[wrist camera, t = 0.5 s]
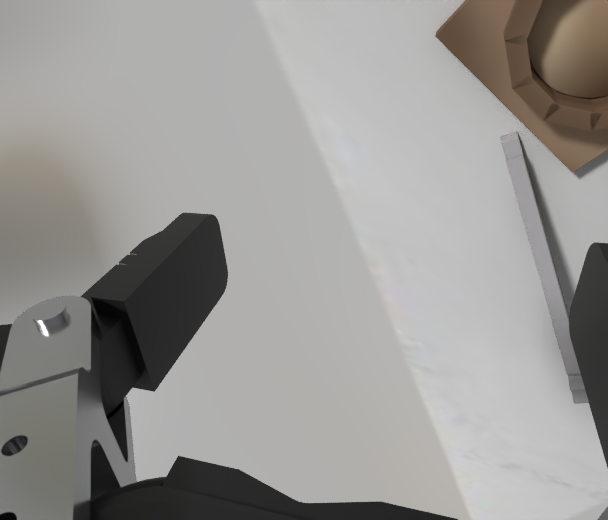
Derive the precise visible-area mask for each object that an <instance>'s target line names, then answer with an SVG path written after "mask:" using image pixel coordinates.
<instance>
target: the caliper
mask: <svg viewBox="0 0 608 520" xmlns="http://www.w3.org/2000/svg"><path fill="white" fill-rule="evenodd" d="M501 142H502V146H503V149H504V153H505V156H506V162H507V166H508V169H509V173H510V176H511V180H512V183H513V187H514V190H515V194H516V197H517V201H518V204H519V207H520V211H521V214H522V218H523V221H524V225H525V228H526V232H527V235H528V238H529V242H530V245H531V249H532V252H533V256H534V259H535V263H536V266H537V270H538V273H539V276H540V280H541V283H542V287H543V290H544V294H545V297H546V301H547V304H548V307H549V311H550V314H551V318H552V322H553V327H554V330H555V334H556V337H557V341H558V344H559V348H560V351H561V355H562V358H563V362H564V365H565V368H566V372H567V375H568V378H569V385H570V390H572V396H573V401H574V403H589V401H588V397H587V394H586V391H585V387H584V384H583V380H582V377H581V373H580V370H579V366H578V363H577V359H576V356H575V352H574V349H573V345H572V342H571V338H570V333H569V314H568V310H567V306H566V304H565V302H564V298H563V294H562V291H561V287H560V283H559V280H558V276H557V273H556V269H555V265H554V262H553V258H552V254H551V251H550V247H549V244H548V240H547V236H546V233H545V229H544V225H543V222H542V218H541V214H540V211H539V207H538V204H537V200H536V196H535V193H534V189H533V185H532V182H531V178H530V174H529V171H528V167H527V164H526V160H525V157H524V154H523V151H522V147H521V144H520V140H519V136H518V133H517V132H515V133H512V134H509V135H506V136H503V137H501Z"/></svg>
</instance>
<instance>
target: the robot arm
mask: <svg viewBox="0 0 608 520" xmlns="http://www.w3.org/2000/svg"><path fill="white" fill-rule="evenodd" d="M227 279H228V270H227V264H226V259H225V253H224V248H223V242H222V237H221V231H220V226H219V222H218V220H217V218H216V217H215V216H214V215H210V214H196V213H182V214H181V215H179V216H178V217H177V218H176V219H175V220H174V221H173V222H172V223H171V224H169V226H167V227H166V228H165V229H164V230H163V231H161V232H159V233H157V234H155V235H154V236H151V237H149V238H147V239H145V240H144V241H142V242H141V243H140V244H139V245H138V246H137V247H136V248H134V249H133V250H132V251H131V252H130V255H127V256H126V257H124V258H123V259H122V260H121V261H120V262H119V265H116V266H114V267H113V268H112V269H111V270H110V271H109V272H108V273H106V274H105V275H104V276H103V277H102V278H101V279H100V280H99V281H97V282H96V283H95V284H94V285H93V286H92V287H91V288H90V289H89V290H88V291H86V292H85V293H84V294H83V295H82V296H81V297H79V296H61V297H56V298H52V299H49V300H46V301H43V302H40V303H38V304H36V305H34V306H32V307H31V308H29V309H27V310H26V311H25V312H23V313H22V314H21V315H20V316H18V318H17V319H16V320H15V321H14V323H13V324H8V325H0V520H458V519H454V518H450V517H446V516H441V515H437V514H432V513H428V512H424V511H419V510H415V509H410V508H406V507H401V506H397V505H393V504H389V503H384V502H351V503H350V502H348V503H347V502H346V503H302V502H298V501H296V500H294V499H292V498H290V497H288V496H286V495H284V494H283V493H281V492H279V491H277V490H275V489H273V488H272V487H270V486H268V485H266V484H264V483H262V482H261V481H258V480H257V479H255V478H253V477H251V476H250V475H248V474H246V473H244V472H242V471H240V470H238V469H234V468H229V467H224V466H220V465H216V464H212V463H207V462H202V461H198V460H194V459H189V458H185V457H180V456H178V457H177V459H176V461H175V463H174V464H173V466H172V468H171V470H170V471H169V473H168V475H167V477H160V478H154V479H147V480H143V481H139V482H137V481H136V474H135V463H134V452H133V441H132V429H131V419H130V407H129V403H128V400H127V397H126V395H127V393H128V392H129V391H130V390H131V388H132V387H134V388H139V389H144V390H150V391H155V390H156V389H157V387H158V386H159V384H160V383H161V382H162V380H163V379H164V377H165V376H166V374H167V373H168V372H169V370H170V369H171V367H172V366H173V365H174V363H175V362H176V360H177V359H178V357H179V356H180V355H181V353H182V352H183V350H184V349H185V348H186V346H187V345H188V343H189V342H190V340H191V339H192V338H193V336H194V335H195V333H196V332H197V331H198V329H199V328H200V326H201V325H202V323H203V322H204V321H205V319H206V318H207V316H208V315H209V313H210V312H211V311H212V309H213V308H214V306H215V305H216V304H217V302H218V301H219V299H220V298H221V296H222V295H223V293H224V291H225V289H226V285H227ZM569 333H570V338H571V342H572V345H573V349H574V352H575V356H576V359H577V363H578V366H579V370H580V373H581V377H582V380H583V384H584V387H585V391H586V394H587V397H588V401H589V404H590V408H591V411H592V415H593V418H594V422H595V425H596V429H597V432H598V436H599V439H600V443H601V446H602V450H603V453H604V457H605V460H606V464H607V467H608V243H593V244H592V245H591V246H590V248H589V249H588V252H587V255H586V258H585V261H584V265H583V268H582V271H581V275H580V278H579V282H578V285H577V288H576V292H575V295H574V298H573V302H572V305H571V309H570V316H569ZM598 520H608V507H607V508H606V509H605V511H604V512H603V513H602V515H601V516H600V517H599V518H598Z"/></svg>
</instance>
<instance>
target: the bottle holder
mask: <svg viewBox="0 0 608 520" xmlns="http://www.w3.org/2000/svg"><path fill="white" fill-rule="evenodd" d="M436 37H437V38H438V39H439V40H440V41H441V42H442V43H443V44H444V45H445V46H446V47H447V48H448V49H449V50H450V51H451V52H452V53H453V54H454V55H455V56H456V57H457V58H458V59H459V60H460V61H461V62H462V63H463V64H464V65H465V66H466V67H467V68H468V69H469V70H470V71H471V72H472V73H473V74H474V75H475V76H476V77H477V78H478V79H479V80H480V81H481V82H482V83H483V84H484V85H485V86H486V87H487V88H488V89H489V90H490V91H491V92H492V93H493V94H494V95H495V96H496V97H497V98H498V99H499V100H500V101H501V102H502V103H503V104H504V105H505V106H506V107H507V108H508V109H509V110H510V111H511V112H512V113H513V114H514V115H515V116H516V117H517V118H518V119H519V120H520V121H521V122H522V123H523V124H524V125H525V126H526V127H527V128H528V129H529V130H530V131H531V132H532V133H534V134H535V135H536V136H537V137H538V138H539V139H540V140H541V141H542V142H543V143H544V144H545V145H546V146H547V147H548V148H549V149H550V150H551V151H552V152H553V153H554V154H555V155H556V156H557V157H558V158H559V159H560V160H561V161H562V162H563V163H564V164H565V165H566V166H567V167H568V168H569V169H570V170H571V171H572V172H575V171H576V170H578V169H579V168H581V167H582V166H584V165H585V164H587V163H588V162H590V161H591V160H593V159H594V158H596V157H597V156H599V155H600V154H602V153H603V152H605V151H606V150H608V0H465V1H464V3H463V4H462V5H461V6H460V7H459V8H458V9H457V10H456V11H455V12H454V13H453V14H452V16H451V17H450V18H449V19H448V20H447V21H446V22H445V23H444V24H443V25H442V26H441V28H440V29H439V30H438V31H437V32H436Z"/></svg>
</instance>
